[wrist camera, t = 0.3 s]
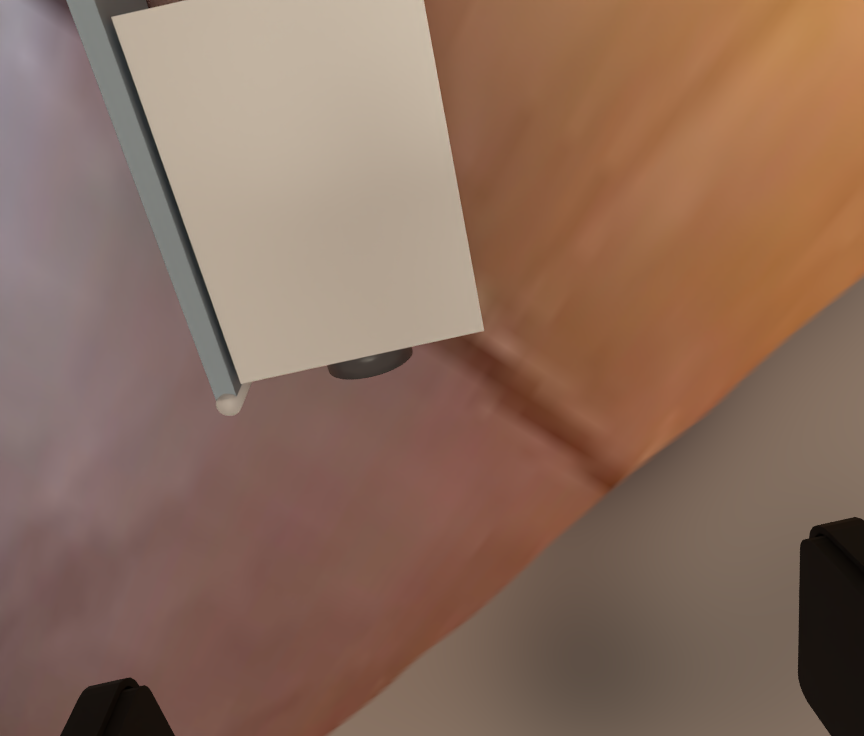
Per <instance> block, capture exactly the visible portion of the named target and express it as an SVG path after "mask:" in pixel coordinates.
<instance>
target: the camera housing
mask: <svg viewBox="0 0 864 736" xmlns="http://www.w3.org/2000/svg"><path fill="white" fill-rule="evenodd" d="M111 18H112V21H113V24H114V27H115V29H116V32H117V35H118V38H119V41H120V44H121V46H122V49H123V52H124V55H125V58H126V61H127V63H128V66H129V69H130V72H131V75H132V78H133V80H134V83H135V86H136V89H137V92H138V95H139V97H140V100H141V103H142V106H143V109H144V112H145V114H146V117H147V120H148V123H149V126H150V128H151V131H152V134H153V137H154V140H155V143H156V145H157V148H158V151H159V154H160V157H161V160H162V162H163V165H164V168H165V171H166V174H167V177H168V179H169V182H170V185H171V188H172V191H173V194H174V196H175V199H176V202H177V205H178V208H179V211H180V213H181V216H182V219H183V222H184V225H185V227H186V230H187V233H188V236H189V239H190V242H191V244H192V247H193V250H194V253H195V256H196V259H197V261H198V264H199V267H200V270H201V273H202V276H203V278H204V281H205V284H206V287H207V290H208V293H209V295H210V298H211V301H212V304H213V307H214V310H215V312H216V315H217V318H218V321H219V324H220V327H221V329H222V332H223V335H224V338H225V341H226V343H227V346H228V349H229V352H230V355H231V358H232V360H233V363H234V366H235V369H236V372H237V375H238V377H239V380H240V383H241V384H243V383H248V382H252V381H257V380H261V379H266V378H271V377H275V376H280V375H284V374H289V373H293V372H298V371H303V370H307V369H312V368H316V367H321V366H325V365H327V366H328V369H329V372H330V374H331V375H332V376H334V377H336V378H340V379H362V378H368V377H373V376H377V375H380V374H383V373H386V372H388V371H391V370H393V369H395V368H397V367H399V366H400V365H402V364H403V363H405V362H406V361H407V360H408V359H409V358H410V357H411V355H412V346H417V345H422V344H426V343H431V342H435V341H440V340H444V339H449V338H454V337H458V336H463V335H467V334H472V333H476V332H481V331H484V327H483V322H482V316H481V311H480V305H479V300H478V294H477V289H476V284H475V278H474V273H473V267H472V262H471V256H470V251H469V245H468V240H467V234H466V229H465V223H464V218H463V212H462V207H461V202H460V196H459V191H458V185H457V180H456V174H455V169H454V163H453V158H452V152H451V147H450V141H449V136H448V130H447V125H446V119H445V114H444V109H443V103H442V98H441V92H440V87H439V81H438V76H437V70H436V65H435V59H434V54H433V48H432V43H431V37H430V32H429V27H428V21H427V16H426V10H425V5H424V0H185V1H180V2H176V3H172V4H167V5H163V6H158V7H154V8H149V9H145V10H140V11H136V12H131V13H127V14H122V15H118V16H113V17H111Z"/></svg>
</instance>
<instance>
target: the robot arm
mask: <svg viewBox="0 0 864 736" xmlns="http://www.w3.org/2000/svg"><path fill="white" fill-rule="evenodd" d="M798 652H799V653H798V679H799V683H800V686H801V689H802V692H803V694H804V696H805V698H806V700H807V702H808V703H809V705H810V706H811V708H812V709H813V711H814V712H815V713H816V715H817V716H818V718H819V719H820V720H821V722H822V723H823V725H824V726H825V728H826V729H827V730H828V732H829V733H830V735H831V736H864V520H862V519H860V518H857V517H853V518H849V519H844V520H840V521H835V522H830V523H826V524H821V525H817V526H814V527H813V528H812V529H811V531H810V536H809V539H805V540H803V541H802V542H801V546H800V587H799V646H798ZM60 736H175V735H174V733H173V731H172V729H171V728H170V726H169V724H168V722H167V720H166V718H165V716H164V714H163V713H162V711H161V709H160V707H159V705H158V703H157V701H156V699H155V698H154V696H153V694H152V692H151V690H150V689H149V688H148V687H147V686H145V685H144V686H139V685H138V683H137V682H136V681H135V680H134V679H132V678H125V679H120V680H116V681H111V682H107V683H102V684H98V685H93V686H89V687H87V688H86V689H85V690H84V691H83V692H82V694H81V695H80V697H79V698H78V701H77V703H76V705H75V707H74V709H73V711H72V713H71V715H70V717H69V719H68V721H67V723H66V725H65V727H64V729H63V731H62V733H61V735H60Z"/></svg>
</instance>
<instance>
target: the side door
mask: <svg viewBox="0 0 864 736" xmlns="http://www.w3.org/2000/svg"><path fill="white" fill-rule="evenodd" d="M66 1H67V3H68V6H69V9H70V11H71V14H72V17H73V19H74V22H75V25H76V27H77V30H78V33H79V35H80V38H81V41H82V43H83V46H84V49H85V51H86V54H87V57H88V59H89V62H90V65H91V67H92V70H93V73H94V75H95V78H96V81H97V83H98V86H99V89H100V91H101V94H102V97H103V99H104V102H105V105H106V107H107V110H108V113H109V115H110V118H111V121H112V123H113V126H114V129H115V131H116V134H117V137H118V139H119V142H120V145H121V147H122V150H123V153H124V155H125V158H126V161H127V164H128V166H129V169H130V172H131V174H132V177H133V180H134V182H135V185H136V188H137V190H138V193H139V196H140V198H141V201H142V204H143V206H144V209H145V212H146V214H147V217H148V220H149V222H150V225H151V228H152V230H153V233H154V236H155V238H156V241H157V244H158V246H159V249H160V252H161V254H162V257H163V260H164V262H165V265H166V268H167V270H168V273H169V276H170V278H171V281H172V284H173V286H174V289H175V292H176V294H177V297H178V300H179V302H180V305H181V308H182V310H183V313H184V316H185V318H186V321H187V324H188V327H189V329H190V332H191V335H192V337H193V340H194V343H195V345H196V348H197V351H198V353H199V356H200V359H201V361H202V364H203V367H204V369H205V372H206V375H207V377H208V380H209V383H210V385H211V388H212V391H213V393H214V396H215V399H216V407H217V409H218V411H219V412H220V413H222V414H224V415H226V416H233V415H236V414H237V413H238V412H239V411H240V410H241V407H242V405H243V403H244V400H245V398H246V395H247V393H248V391H249V388H250V386H251V384H252V382H248V383H243V384H241V383H240V380H239V377H238V375H237V372H236V369H235V366H234V363H233V360H232V358H231V355H230V352H229V349H228V346H227V343H226V341H225V338H224V335H223V332H222V329H221V327H220V324H219V321H218V318H217V315H216V312H215V310H214V307H213V304H212V301H211V298H210V295H209V293H208V290H207V287H206V284H205V281H204V278H203V276H202V273H201V270H200V267H199V264H198V261H197V259H196V256H195V253H194V250H193V247H192V244H191V242H190V239H189V236H188V233H187V230H186V227H185V225H184V222H183V219H182V216H181V213H180V211H179V208H178V205H177V202H176V199H175V196H174V194H173V191H172V188H171V185H170V182H169V179H168V177H167V174H166V171H165V168H164V165H163V162H162V160H161V157H160V154H159V151H158V148H157V145H156V143H155V140H154V137H153V134H152V131H151V128H150V126H149V123H148V120H147V117H146V114H145V112H144V109H143V106H142V103H141V100H140V97H139V95H138V92H137V89H136V86H135V83H134V80H133V78H132V75H131V72H130V69H129V66H128V63H127V61H126V58H125V55H124V52H123V49H122V46H121V44H120V41H119V38H118V35H117V32H116V29H115V27H114V24H113V21H112V18H111V17H113V16H118V15H122V14H127V13H131V12H136V11H140V10H145V9H149V8H148V5H147V2H146V0H66Z"/></svg>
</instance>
